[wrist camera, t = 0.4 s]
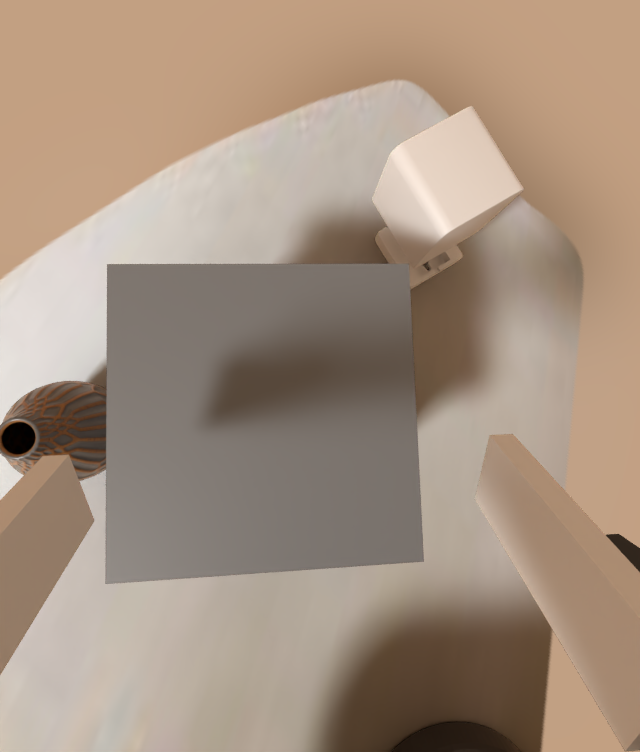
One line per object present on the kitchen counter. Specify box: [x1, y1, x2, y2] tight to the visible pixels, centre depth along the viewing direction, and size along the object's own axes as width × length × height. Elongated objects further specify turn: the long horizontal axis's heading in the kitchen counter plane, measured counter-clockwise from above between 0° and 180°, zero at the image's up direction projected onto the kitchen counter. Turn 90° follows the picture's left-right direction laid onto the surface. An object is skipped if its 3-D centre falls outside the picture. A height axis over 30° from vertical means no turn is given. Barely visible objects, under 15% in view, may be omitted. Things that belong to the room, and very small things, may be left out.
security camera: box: [372, 106, 524, 290], centre depth 27 cm, size 6×7×10 cm
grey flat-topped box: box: [105, 264, 424, 584], centre depth 24 cm, size 14×14×14 cm
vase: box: [0, 381, 107, 481], centre depth 25 cm, size 7×7×9 cm
